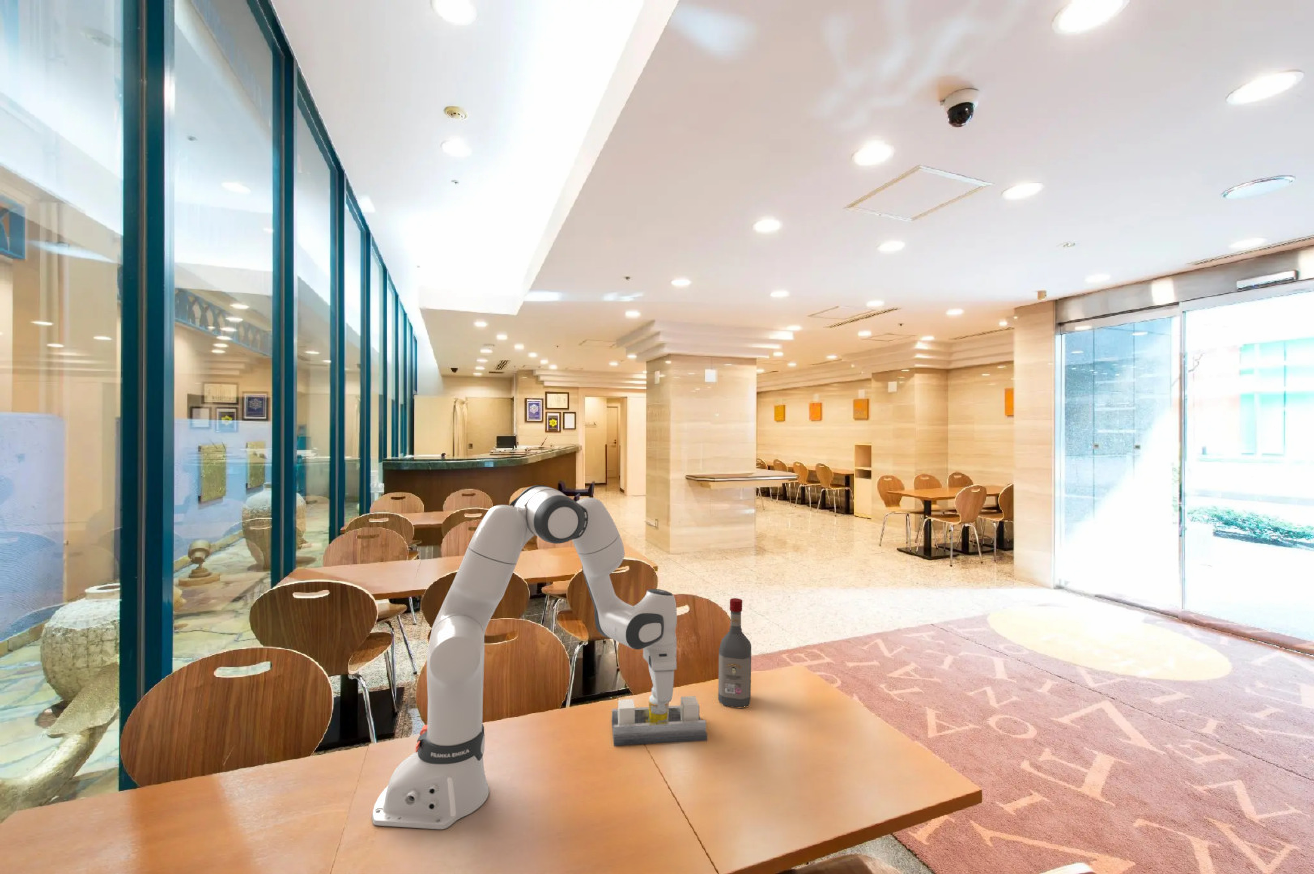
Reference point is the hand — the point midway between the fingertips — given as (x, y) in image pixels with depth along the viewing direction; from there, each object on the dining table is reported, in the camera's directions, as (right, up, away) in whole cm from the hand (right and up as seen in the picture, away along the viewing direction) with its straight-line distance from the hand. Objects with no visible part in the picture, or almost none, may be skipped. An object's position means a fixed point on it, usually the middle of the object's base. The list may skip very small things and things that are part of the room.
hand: (659, 702), depth 142 cm
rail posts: (0, -6, 0) cm, 6 cm away
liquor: (+23, -8, +17) cm, 30 cm away
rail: (0, -7, 0) cm, 7 cm away
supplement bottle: (0, -6, 0) cm, 6 cm away
